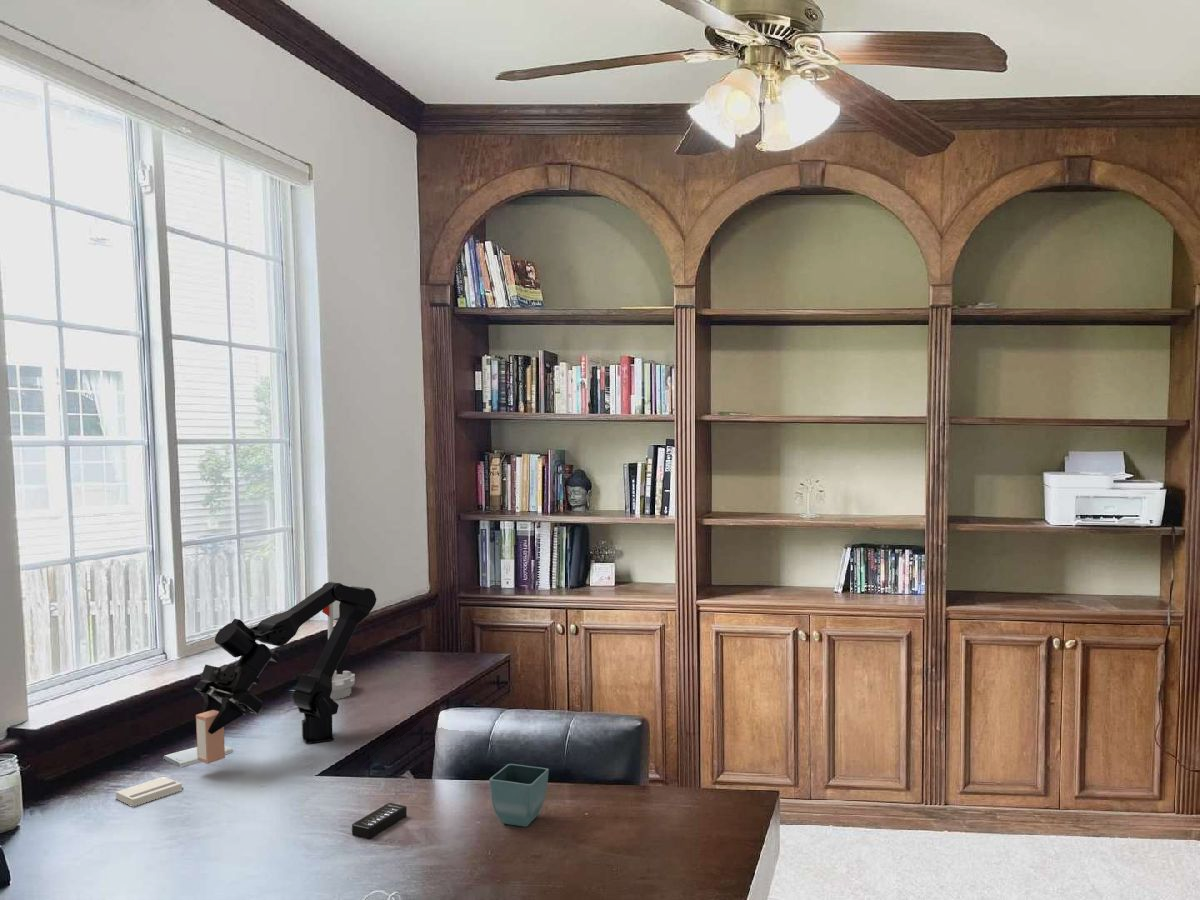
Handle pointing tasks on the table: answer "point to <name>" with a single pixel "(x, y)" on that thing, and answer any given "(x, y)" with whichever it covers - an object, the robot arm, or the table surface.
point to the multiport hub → (379, 820)
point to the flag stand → (338, 681)
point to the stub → (209, 738)
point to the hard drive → (188, 756)
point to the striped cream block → (148, 791)
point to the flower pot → (518, 793)
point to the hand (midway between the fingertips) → (204, 731)
